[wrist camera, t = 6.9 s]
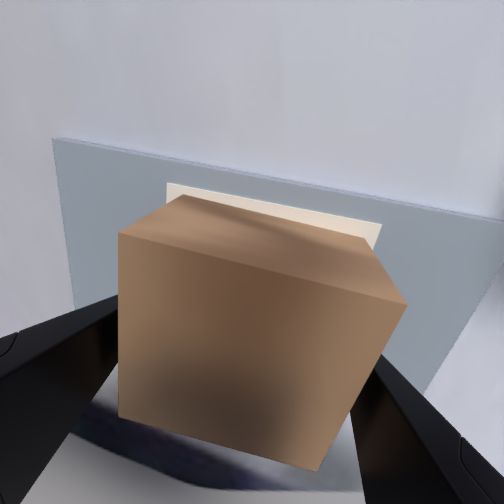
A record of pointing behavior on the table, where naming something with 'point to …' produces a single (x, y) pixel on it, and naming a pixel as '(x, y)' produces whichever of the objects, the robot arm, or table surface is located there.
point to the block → (248, 327)
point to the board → (296, 209)
